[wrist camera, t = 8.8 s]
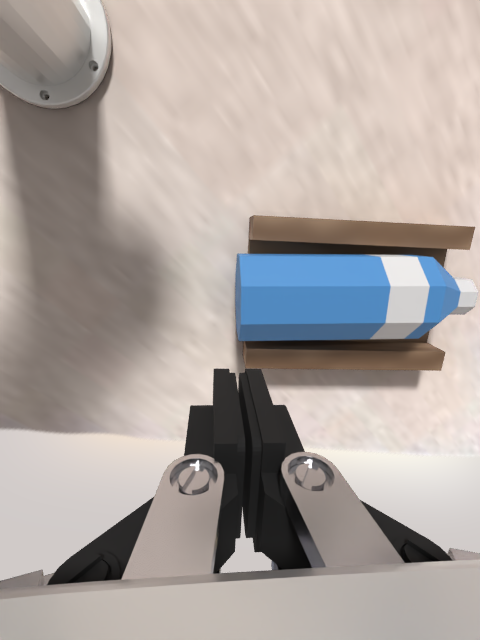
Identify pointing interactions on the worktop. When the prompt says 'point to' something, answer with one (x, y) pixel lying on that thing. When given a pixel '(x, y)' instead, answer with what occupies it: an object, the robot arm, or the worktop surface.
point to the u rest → (357, 240)
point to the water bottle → (344, 296)
